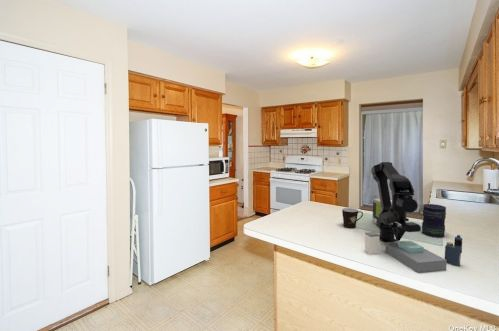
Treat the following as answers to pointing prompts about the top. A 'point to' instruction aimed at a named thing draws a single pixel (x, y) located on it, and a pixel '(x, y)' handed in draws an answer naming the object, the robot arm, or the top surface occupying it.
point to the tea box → (376, 209)
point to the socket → (417, 259)
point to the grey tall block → (372, 243)
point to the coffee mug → (350, 217)
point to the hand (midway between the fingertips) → (397, 240)
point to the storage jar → (434, 220)
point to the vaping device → (454, 251)
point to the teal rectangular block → (410, 246)
